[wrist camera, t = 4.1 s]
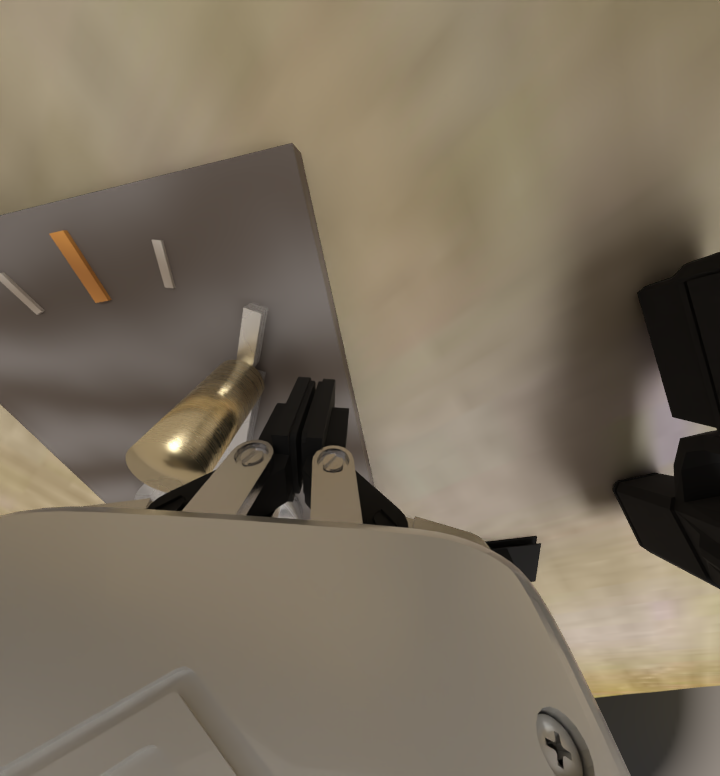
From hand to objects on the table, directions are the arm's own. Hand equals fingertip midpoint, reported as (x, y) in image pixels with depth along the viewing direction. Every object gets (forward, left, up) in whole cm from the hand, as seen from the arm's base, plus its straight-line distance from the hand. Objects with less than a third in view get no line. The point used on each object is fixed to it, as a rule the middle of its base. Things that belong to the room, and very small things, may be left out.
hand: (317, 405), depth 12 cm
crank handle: (+6, -8, -3) cm, 10 cm away
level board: (+6, -10, -5) cm, 13 cm away
